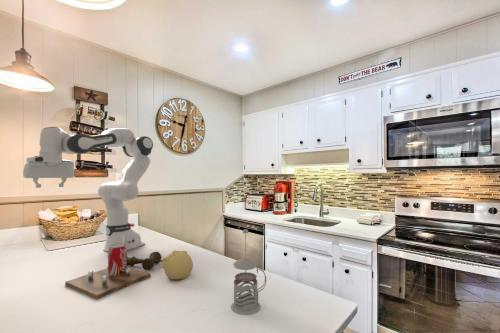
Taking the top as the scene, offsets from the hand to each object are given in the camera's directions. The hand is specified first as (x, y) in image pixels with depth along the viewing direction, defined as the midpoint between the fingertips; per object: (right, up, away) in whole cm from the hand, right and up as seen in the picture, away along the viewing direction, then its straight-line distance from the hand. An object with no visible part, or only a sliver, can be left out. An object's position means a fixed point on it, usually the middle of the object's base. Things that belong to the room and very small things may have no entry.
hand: (50, 187), depth 124 cm
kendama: (+49, -37, -6) cm, 61 cm away
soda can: (+43, -35, -18) cm, 58 cm away
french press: (+98, -36, -42) cm, 112 cm away
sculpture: (+68, -37, -18) cm, 79 cm away
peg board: (+41, -36, -22) cm, 59 cm away
